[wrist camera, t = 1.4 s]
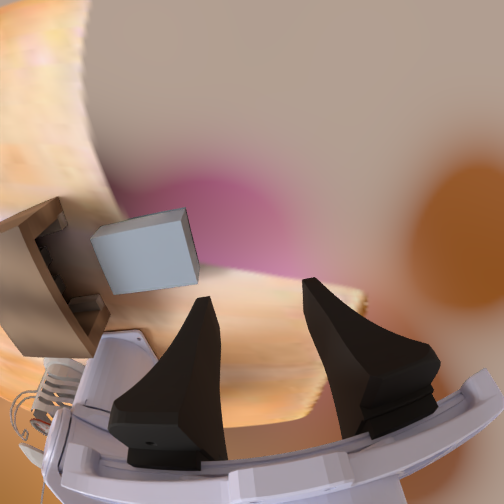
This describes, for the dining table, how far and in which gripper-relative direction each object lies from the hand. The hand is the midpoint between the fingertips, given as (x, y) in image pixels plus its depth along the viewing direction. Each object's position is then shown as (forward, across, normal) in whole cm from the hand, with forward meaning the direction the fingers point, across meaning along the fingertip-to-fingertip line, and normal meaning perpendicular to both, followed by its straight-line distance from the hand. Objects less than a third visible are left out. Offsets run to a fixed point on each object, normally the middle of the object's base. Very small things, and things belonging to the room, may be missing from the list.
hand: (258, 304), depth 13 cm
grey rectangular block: (+9, +8, 0) cm, 12 cm away
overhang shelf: (+8, +19, 0) cm, 21 cm away
